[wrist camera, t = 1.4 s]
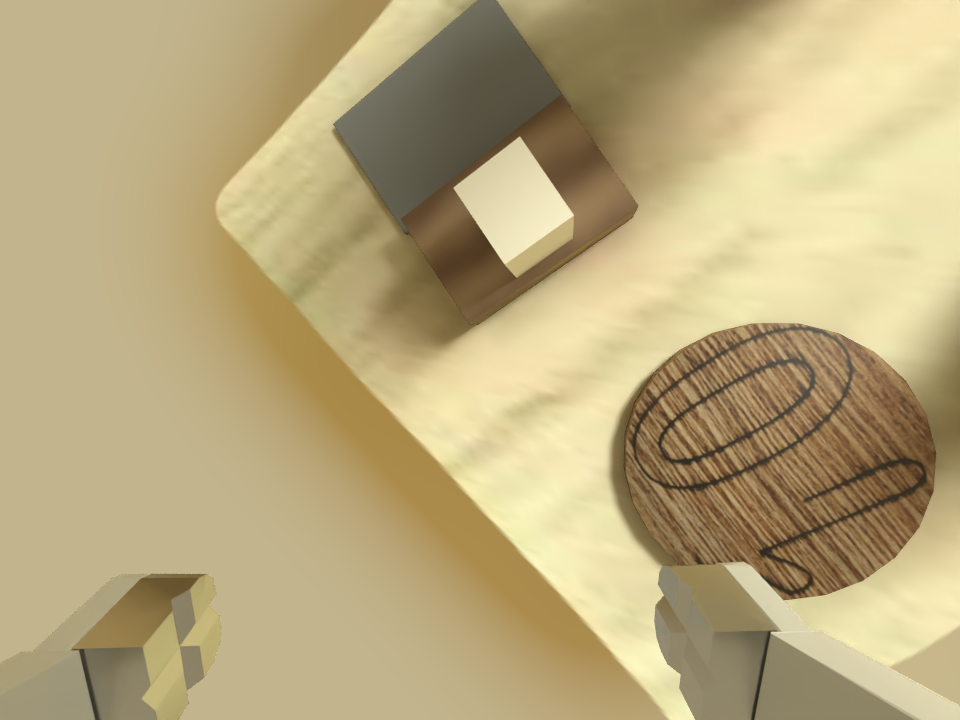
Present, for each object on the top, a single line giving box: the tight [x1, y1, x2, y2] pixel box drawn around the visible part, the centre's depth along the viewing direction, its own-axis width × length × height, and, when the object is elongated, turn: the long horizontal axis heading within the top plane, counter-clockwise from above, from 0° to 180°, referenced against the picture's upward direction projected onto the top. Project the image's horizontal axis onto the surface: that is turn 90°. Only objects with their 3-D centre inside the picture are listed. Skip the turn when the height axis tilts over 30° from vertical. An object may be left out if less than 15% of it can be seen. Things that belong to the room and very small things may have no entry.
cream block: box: [454, 137, 574, 278], centre depth 37 cm, size 7×6×8 cm
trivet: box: [624, 323, 936, 600], centre depth 41 cm, size 25×25×2 cm
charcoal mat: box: [333, 0, 570, 234], centre depth 45 cm, size 14×20×1 cm
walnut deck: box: [401, 95, 638, 325], centre depth 43 cm, size 12×18×4 cm, turn 124°
